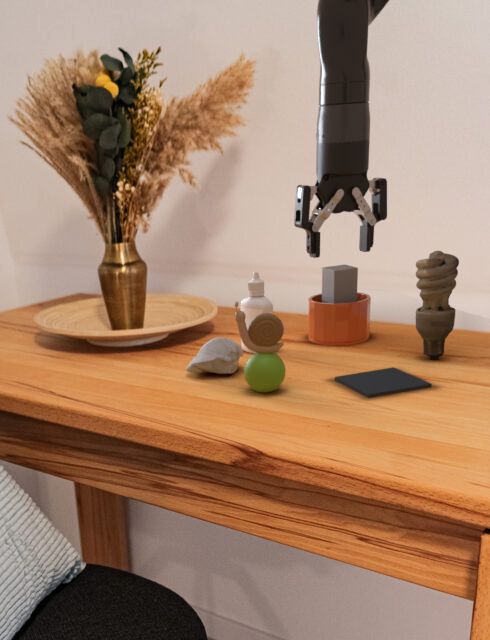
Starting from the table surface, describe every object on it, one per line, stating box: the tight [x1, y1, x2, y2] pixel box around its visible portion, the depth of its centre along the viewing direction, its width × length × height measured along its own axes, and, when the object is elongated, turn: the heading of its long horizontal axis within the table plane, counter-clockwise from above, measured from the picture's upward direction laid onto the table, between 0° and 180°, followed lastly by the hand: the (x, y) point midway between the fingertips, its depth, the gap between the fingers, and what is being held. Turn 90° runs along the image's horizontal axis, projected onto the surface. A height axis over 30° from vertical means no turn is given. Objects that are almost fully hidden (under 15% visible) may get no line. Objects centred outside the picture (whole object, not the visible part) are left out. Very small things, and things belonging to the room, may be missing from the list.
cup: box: [307, 291, 372, 346], centre depth 133 cm, size 9×9×6 cm
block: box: [321, 264, 359, 303], centre depth 132 cm, size 4×4×10 cm
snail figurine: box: [234, 301, 287, 394], centre depth 109 cm, size 5×6×12 cm
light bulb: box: [415, 250, 460, 361], centre depth 116 cm, size 6×6×15 cm
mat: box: [334, 367, 432, 399], centre depth 111 cm, size 9×9×1 cm
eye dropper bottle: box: [239, 271, 274, 354], centre depth 128 cm, size 4×6×12 cm
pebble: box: [185, 336, 244, 375], centre depth 121 cm, size 9×8×5 cm
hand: (339, 254), depth 128 cm, fingers open, 8 cm apart
